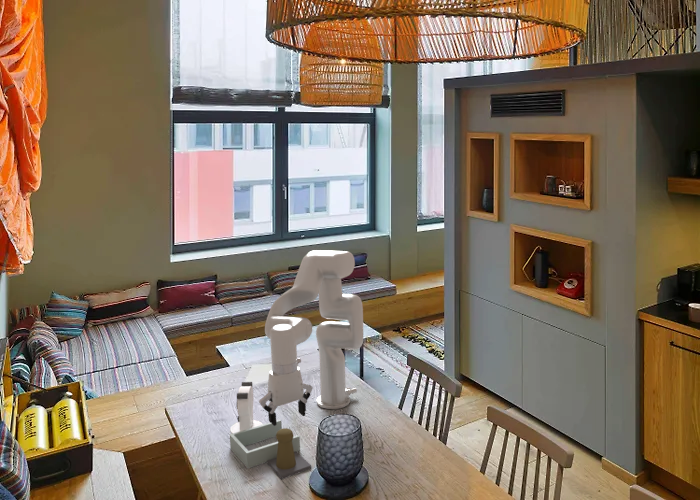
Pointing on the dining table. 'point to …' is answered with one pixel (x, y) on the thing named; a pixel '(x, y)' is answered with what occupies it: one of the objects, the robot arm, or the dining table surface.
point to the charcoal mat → (283, 473)
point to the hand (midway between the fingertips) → (287, 419)
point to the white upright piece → (245, 409)
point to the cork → (285, 449)
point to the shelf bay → (257, 435)
